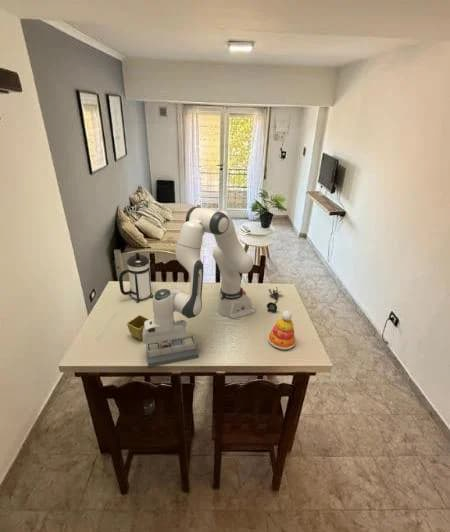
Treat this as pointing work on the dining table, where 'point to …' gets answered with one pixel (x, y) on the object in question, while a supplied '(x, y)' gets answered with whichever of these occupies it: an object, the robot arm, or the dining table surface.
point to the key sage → (153, 347)
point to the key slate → (176, 342)
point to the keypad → (172, 352)
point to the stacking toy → (283, 332)
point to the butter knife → (101, 333)
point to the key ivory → (188, 341)
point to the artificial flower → (272, 306)
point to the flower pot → (137, 326)
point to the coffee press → (137, 277)
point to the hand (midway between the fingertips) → (165, 346)
